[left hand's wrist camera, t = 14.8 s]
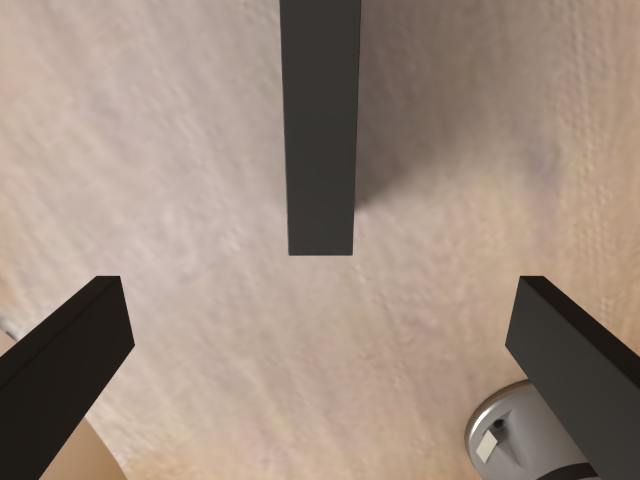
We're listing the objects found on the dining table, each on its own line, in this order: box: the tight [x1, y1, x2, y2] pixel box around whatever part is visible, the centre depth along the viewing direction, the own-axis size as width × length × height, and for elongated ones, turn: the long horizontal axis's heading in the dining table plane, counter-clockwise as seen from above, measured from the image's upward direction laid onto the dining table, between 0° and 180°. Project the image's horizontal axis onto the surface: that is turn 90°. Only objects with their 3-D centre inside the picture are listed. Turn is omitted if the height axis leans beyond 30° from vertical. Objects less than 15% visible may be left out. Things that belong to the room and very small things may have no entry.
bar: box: [280, 0, 361, 256], centre depth 26 cm, size 28×4×9 cm, turn 0°
